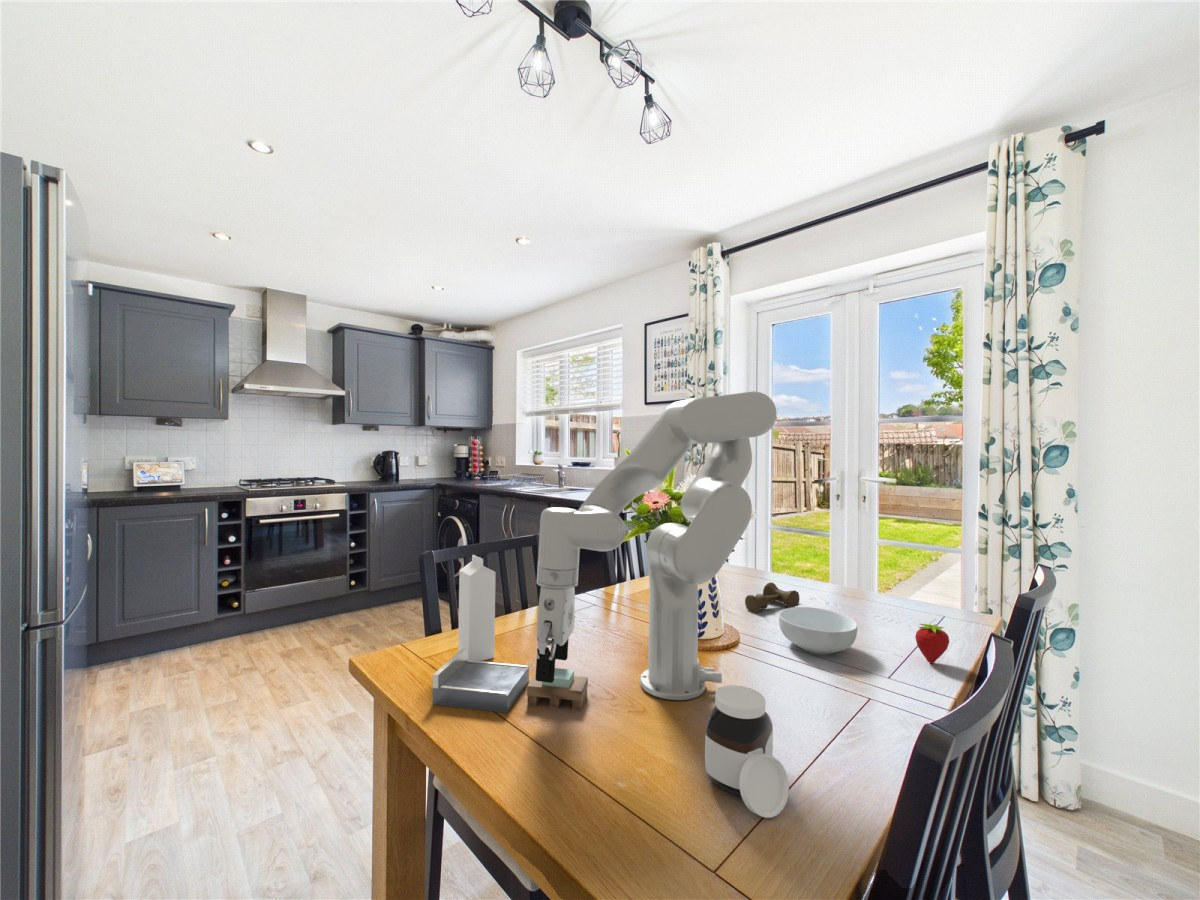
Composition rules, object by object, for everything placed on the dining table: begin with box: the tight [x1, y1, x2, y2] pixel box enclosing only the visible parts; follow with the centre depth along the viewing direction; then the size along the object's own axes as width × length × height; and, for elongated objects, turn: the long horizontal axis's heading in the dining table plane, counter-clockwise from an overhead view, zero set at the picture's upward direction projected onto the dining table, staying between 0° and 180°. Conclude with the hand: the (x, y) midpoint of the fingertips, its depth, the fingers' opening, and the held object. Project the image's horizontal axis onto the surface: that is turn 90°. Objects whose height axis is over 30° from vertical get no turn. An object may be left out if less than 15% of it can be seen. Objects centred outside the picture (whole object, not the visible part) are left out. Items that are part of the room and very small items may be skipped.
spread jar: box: [704, 684, 790, 819], centre depth 68 cm, size 12×11×12 cm
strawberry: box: [914, 618, 950, 664], centre depth 110 cm, size 6×8×10 cm
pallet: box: [526, 673, 589, 712], centre depth 91 cm, size 10×6×4 cm, turn 80°
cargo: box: [542, 667, 575, 688], centre depth 91 cm, size 5×4×2 cm
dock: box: [432, 648, 530, 714], centre depth 94 cm, size 14×12×5 cm
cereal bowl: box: [778, 606, 858, 655], centre depth 117 cm, size 17×17×7 cm
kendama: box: [744, 582, 800, 613], centre depth 148 cm, size 6×10×20 cm
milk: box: [457, 554, 496, 662], centre depth 110 cm, size 6×6×22 cm
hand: (552, 669), depth 91 cm, fingers open, 9 cm apart
